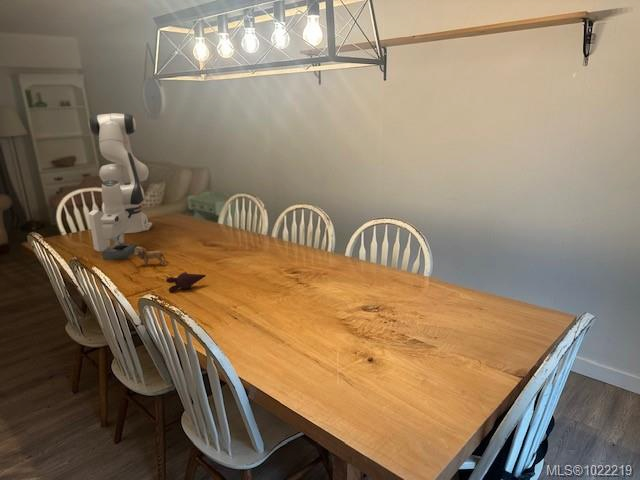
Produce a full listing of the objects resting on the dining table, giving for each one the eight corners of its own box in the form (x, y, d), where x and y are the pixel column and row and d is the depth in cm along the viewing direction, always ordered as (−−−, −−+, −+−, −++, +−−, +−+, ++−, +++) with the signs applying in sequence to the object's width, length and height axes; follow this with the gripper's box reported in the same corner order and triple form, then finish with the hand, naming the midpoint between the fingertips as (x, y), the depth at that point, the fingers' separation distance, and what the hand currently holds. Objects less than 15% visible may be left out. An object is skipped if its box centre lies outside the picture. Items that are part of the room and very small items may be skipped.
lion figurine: (134, 267, 204) (132, 248, 201) (137, 264, 209) (135, 245, 206) (168, 265, 205) (166, 246, 203) (170, 262, 210) (168, 243, 208)
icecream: (201, 266, 184) (163, 276, 178) (205, 267, 178) (166, 277, 171) (205, 282, 185) (168, 293, 179) (209, 284, 178) (170, 295, 172)
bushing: (118, 248, 223) (115, 233, 220) (126, 248, 223) (124, 232, 220) (114, 251, 219) (112, 235, 217) (122, 251, 219) (120, 235, 217)
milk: (99, 252, 227) (91, 209, 221) (94, 249, 231) (86, 207, 225) (111, 249, 232) (104, 206, 225) (106, 247, 236) (99, 205, 229)
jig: (114, 251, 227) (113, 244, 226) (140, 251, 227) (139, 243, 226) (103, 259, 216) (102, 251, 215) (130, 259, 216) (128, 250, 215)
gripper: (118, 210, 226) (122, 237, 230) (98, 220, 206) (103, 249, 210) (131, 210, 226) (134, 237, 230) (112, 220, 206) (116, 249, 210)
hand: (119, 243), depth 220 cm, fingers closed on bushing, 4 cm apart
